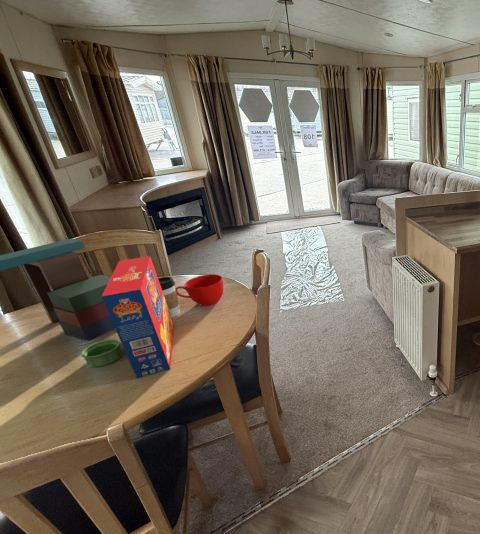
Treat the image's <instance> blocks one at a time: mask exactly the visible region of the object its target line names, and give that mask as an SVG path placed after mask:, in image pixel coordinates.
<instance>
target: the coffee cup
mask: <svg viewBox="0 0 480 534" xmlns="http://www.w3.org/2000/svg"><path fill="white" fill-rule="evenodd" d="M158 280H159V283H160V286H161V289H162V292H163V294H164V297H165V300H166V303H167V306H168V309H169V312H170V315H171V318H172V319H173V318H174V317H177V316H178V315H180V314H181V310H180V304H179V298H178V295H177V293H176V288H177V287H176V286H175V285H176V282H175V281H174V279H173V277H172V276H162V277H158Z"/></svg>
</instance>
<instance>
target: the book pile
mask: <svg viewBox="0 0 480 534" xmlns="http://www.w3.org/2000/svg"><path fill="white" fill-rule="evenodd" d="M110 278H111V276H108V275H103V274H98V275H96V276H93V277H89V278H88V279H87V280H84V281H81V282H78V283H75V284H72V285H69V286H66V287H63V288H60V289H57V290H54V291H51V292H48V293H47V294H48V296H49V298H50V300H51V302H52V304H53V306H54V308H53V309H54V311H55V313H56V314H57V316H58V318H59V320H60V321H58V323H59V324H60V327H61V329H62V331H63V333H64V335H66V336H70V337H72V338H75V339H79V340H82V341H85V342H90V341H92V340H94V339H97V338H98V337H100V336H102V335H105V334H107V333H109V332H111V331H114V330H116V329H115V326H114V324H113V322H112V319H111V317H110V315H109V312H108V310H107V308H106V306H105V303H104V301H103V299H102V294H103V292H104V290H105V288H106V286H107V284H108V282H109V280H110Z"/></svg>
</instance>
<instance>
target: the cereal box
mask: <svg viewBox="0 0 480 534" xmlns="http://www.w3.org/2000/svg"><path fill="white" fill-rule="evenodd" d="M110 277H111V278H110V280H109V282H108V284H107V286H106V288H105V290H104V292H103V294H102V299H103V301H104V303H105V306H106V308H107V310H108V312H109V315H110V317H111V319H112V322H113V324H114V326H115V329H114V330H115V331H116V333H117V336H118V338H119V341H120V344H121V345H122V348H123V349H124V352H125V354H126V356H127V359H128V361H129V363H130V366H131V368H132V371H133V373H134V375H135V377H136V379H140V378H144V377H148V376H150V375H155V374H158V373H161V372H165V371H168V370H171V365H172V357H173V356H172V355H173V354H172V353H173V345H174V344H173V343H174V332H175V324H174V321H173V317H172V318H171V315H170V312H169V309H168V306H167V303H166V300H165V297H164V294H163V292H162V289H161V286H160V283H159V280H158V278H159V276H158V274H157V271H156V269H155V266H154V263H153V259H152V257H151V255H149V256H143V257H135V258H129V259H122V260H121V259H120V260H118V262H117V264H116V266H115V269H114V270H113V272H112V275H111V276H110Z"/></svg>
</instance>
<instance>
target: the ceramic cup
mask: <svg viewBox="0 0 480 534" xmlns="http://www.w3.org/2000/svg"><path fill="white" fill-rule="evenodd" d="M175 288H176V293H177V297H178V296H179V298H185V299H191V300H192V301H193V302H195V304H198V305H200V306H202V307H209V306H210V307H211V306H214V305H216V304H218V303H219V302H218V301H220V300H221V298H223V295H224V291H225V290H224V289H225V285H224V279H223V276H222V275H219V274H215V273H213V274H210V273H209V274H202V275H199V276H195V277H192V278H190V279H188V280H186V281H185V283H184V286H183V285H180V286H179V285H178V286H176V287H175ZM178 289H183V290H185V291H186V292H187V295H186V294H182V293H181V292H179V291H178Z"/></svg>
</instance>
